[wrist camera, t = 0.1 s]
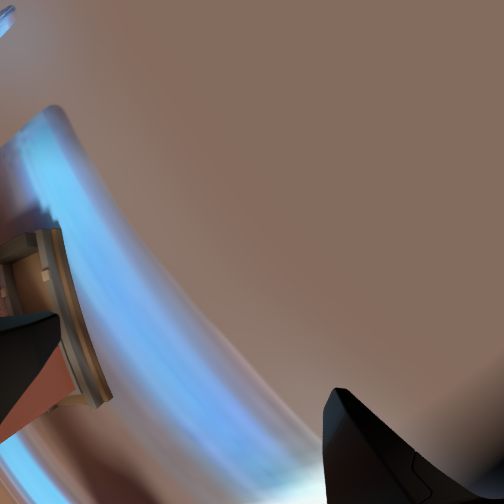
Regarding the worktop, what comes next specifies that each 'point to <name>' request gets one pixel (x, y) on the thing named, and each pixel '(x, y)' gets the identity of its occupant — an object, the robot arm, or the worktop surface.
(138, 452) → the worktop surface
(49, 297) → the press track
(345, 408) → the robot arm
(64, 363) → the post
